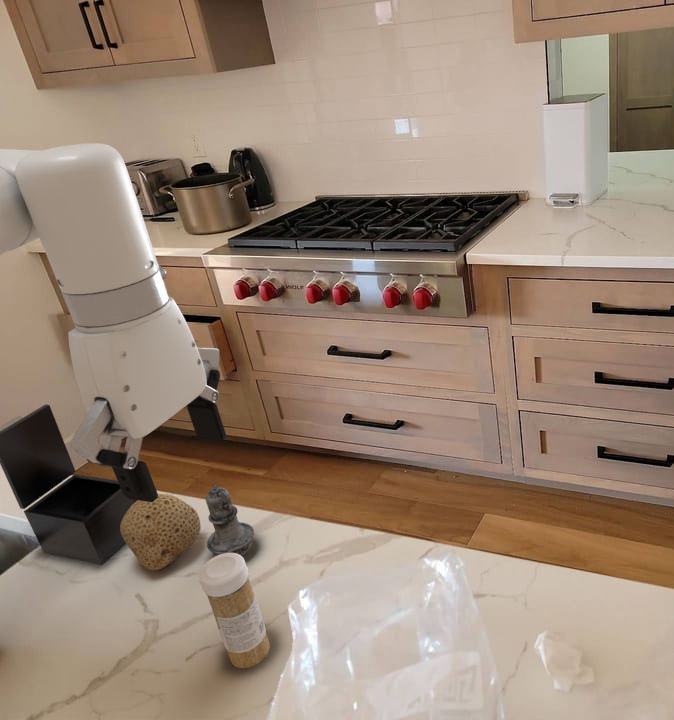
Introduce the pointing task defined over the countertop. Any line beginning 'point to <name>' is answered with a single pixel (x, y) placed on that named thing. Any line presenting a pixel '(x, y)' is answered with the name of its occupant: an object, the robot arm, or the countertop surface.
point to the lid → (33, 455)
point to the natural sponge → (160, 530)
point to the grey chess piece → (226, 525)
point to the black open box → (81, 519)
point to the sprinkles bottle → (235, 609)
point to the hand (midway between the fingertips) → (179, 466)
